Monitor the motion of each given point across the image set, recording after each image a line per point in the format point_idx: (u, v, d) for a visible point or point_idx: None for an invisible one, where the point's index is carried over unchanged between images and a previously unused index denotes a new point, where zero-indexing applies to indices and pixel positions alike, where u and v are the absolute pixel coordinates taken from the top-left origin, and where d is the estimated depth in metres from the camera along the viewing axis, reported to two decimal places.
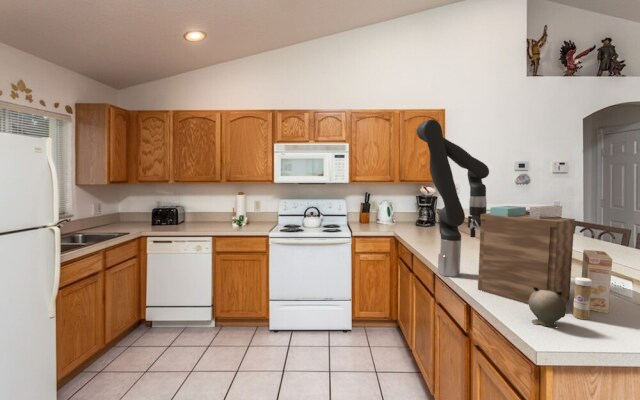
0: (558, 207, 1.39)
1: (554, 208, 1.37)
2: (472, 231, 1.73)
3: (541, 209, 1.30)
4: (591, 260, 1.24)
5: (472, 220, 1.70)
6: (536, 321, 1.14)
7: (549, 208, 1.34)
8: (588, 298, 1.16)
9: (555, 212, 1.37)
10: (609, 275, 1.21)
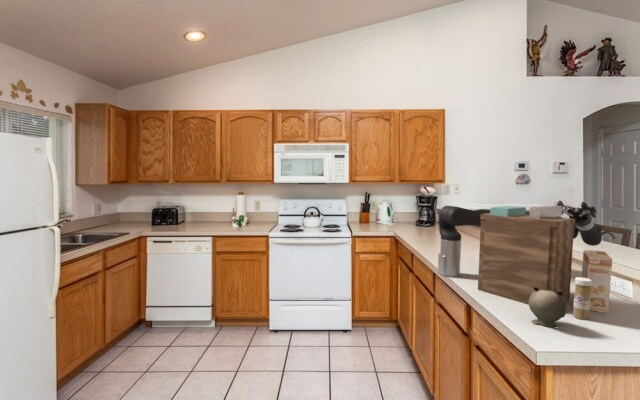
0: (558, 207, 1.39)
1: (554, 208, 1.37)
2: (562, 204, 1.55)
3: (541, 209, 1.30)
4: (591, 260, 1.24)
5: (574, 208, 1.56)
6: (536, 321, 1.14)
7: (549, 208, 1.34)
8: (588, 298, 1.16)
9: (555, 212, 1.37)
10: (609, 275, 1.21)
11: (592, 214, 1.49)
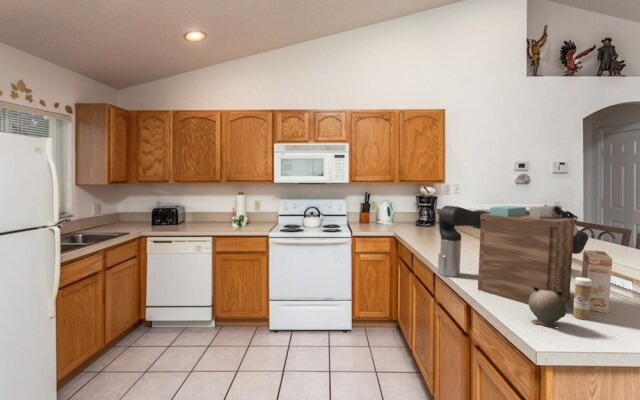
0: None
1: (554, 208, 1.37)
2: None
3: (541, 209, 1.30)
4: (591, 260, 1.24)
5: None
6: (536, 321, 1.14)
7: (549, 208, 1.34)
8: (588, 298, 1.16)
9: (555, 212, 1.37)
10: (609, 275, 1.21)
11: None
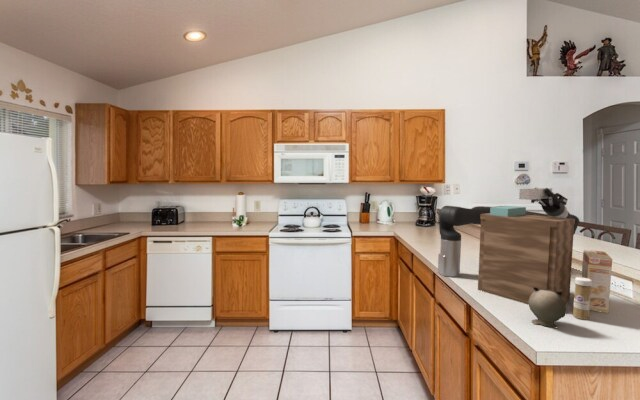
0: None
1: (544, 190, 1.39)
2: None
3: (530, 190, 1.33)
4: (591, 260, 1.24)
5: None
6: (536, 321, 1.14)
7: (539, 190, 1.37)
8: (588, 298, 1.16)
9: (545, 194, 1.40)
10: (609, 275, 1.21)
11: (559, 201, 1.40)
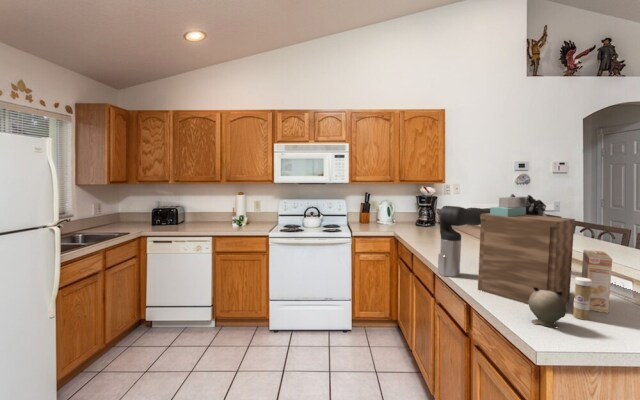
0: None
1: (522, 199, 1.46)
2: None
3: (509, 199, 1.40)
4: (591, 260, 1.24)
5: None
6: (536, 321, 1.14)
7: (517, 198, 1.44)
8: (588, 298, 1.16)
9: (523, 202, 1.47)
10: (609, 275, 1.21)
11: (540, 207, 1.47)
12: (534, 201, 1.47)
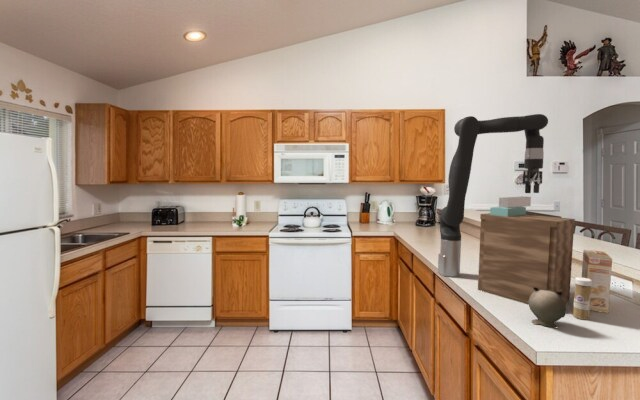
0: (527, 198, 1.48)
1: (522, 199, 1.46)
2: None
3: (509, 199, 1.40)
4: (591, 260, 1.24)
5: (536, 174, 1.61)
6: (536, 321, 1.14)
7: (517, 198, 1.44)
8: (588, 298, 1.16)
9: (523, 202, 1.47)
10: (609, 275, 1.21)
11: None
12: None
